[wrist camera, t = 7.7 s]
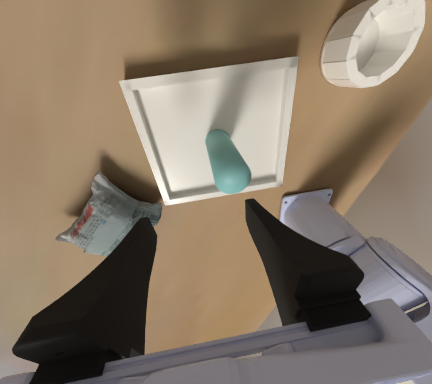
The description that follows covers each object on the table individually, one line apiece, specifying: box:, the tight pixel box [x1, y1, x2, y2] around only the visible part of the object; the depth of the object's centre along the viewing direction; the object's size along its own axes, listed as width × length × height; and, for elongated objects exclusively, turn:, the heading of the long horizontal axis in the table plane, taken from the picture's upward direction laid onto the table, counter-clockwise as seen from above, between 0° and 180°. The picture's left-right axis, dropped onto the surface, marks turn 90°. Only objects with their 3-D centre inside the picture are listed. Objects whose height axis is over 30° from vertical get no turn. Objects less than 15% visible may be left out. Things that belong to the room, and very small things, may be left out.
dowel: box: [205, 129, 251, 194], centre depth 16 cm, size 3×3×8 cm
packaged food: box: [56, 172, 162, 256], centre depth 22 cm, size 9×12×5 cm
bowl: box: [320, 0, 425, 88], centre depth 15 cm, size 6×6×4 cm
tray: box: [119, 56, 299, 206], centre depth 20 cm, size 14×16×2 cm
